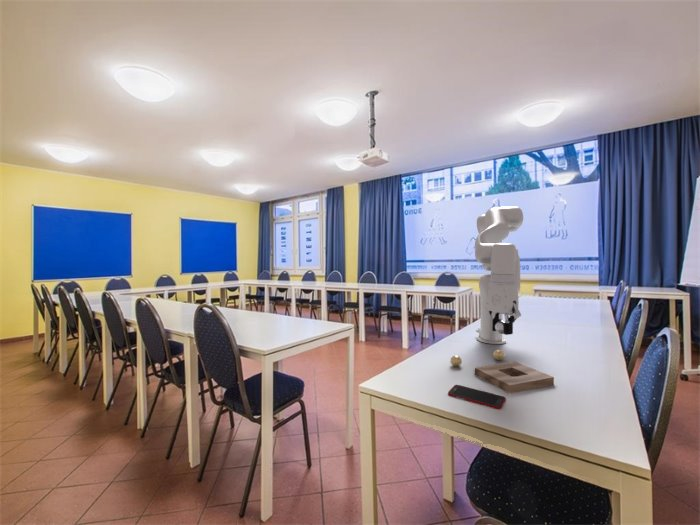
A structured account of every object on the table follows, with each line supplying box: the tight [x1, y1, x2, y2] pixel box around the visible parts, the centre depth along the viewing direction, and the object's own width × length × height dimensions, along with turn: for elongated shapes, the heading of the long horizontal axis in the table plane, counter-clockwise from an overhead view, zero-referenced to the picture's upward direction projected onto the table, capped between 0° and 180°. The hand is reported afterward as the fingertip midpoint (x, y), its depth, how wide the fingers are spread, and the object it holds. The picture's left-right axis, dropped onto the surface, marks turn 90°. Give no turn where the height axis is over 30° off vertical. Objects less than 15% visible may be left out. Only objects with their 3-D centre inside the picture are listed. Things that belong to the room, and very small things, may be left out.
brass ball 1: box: [450, 355, 463, 368], centre depth 114 cm, size 4×4×4 cm
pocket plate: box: [474, 361, 555, 394], centre depth 102 cm, size 15×18×2 cm
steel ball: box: [495, 320, 506, 335], centre depth 106 cm, size 4×4×4 cm
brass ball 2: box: [493, 349, 506, 361], centre depth 121 cm, size 4×4×4 cm
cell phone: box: [447, 384, 507, 410], centre depth 90 cm, size 8×15×1 cm, turn 53°
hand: (502, 331), depth 106 cm, fingers closed on steel ball, 4 cm apart
